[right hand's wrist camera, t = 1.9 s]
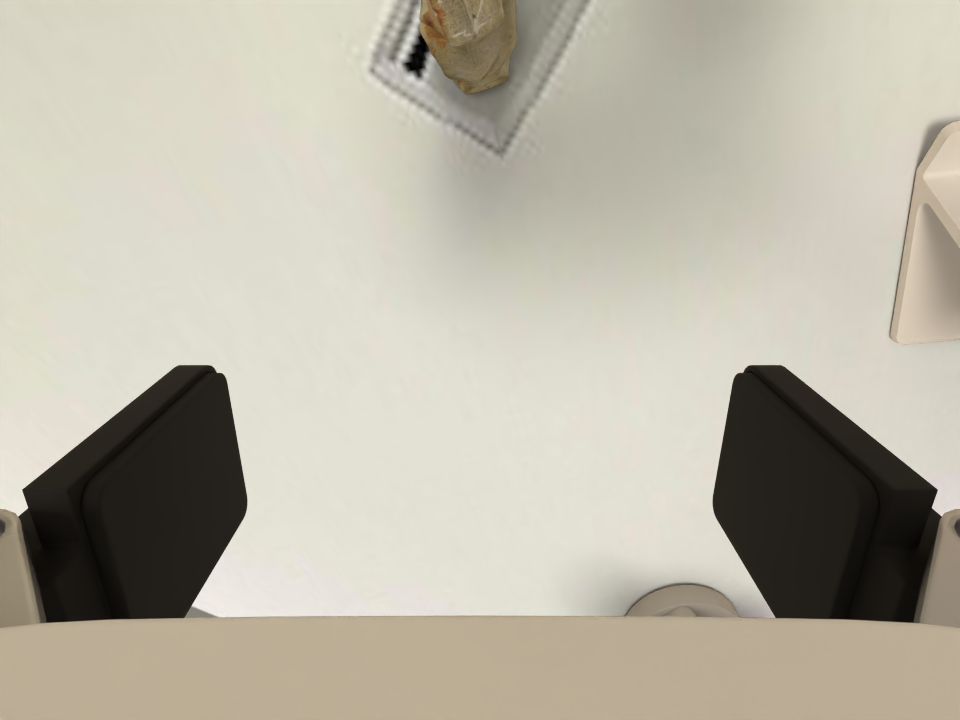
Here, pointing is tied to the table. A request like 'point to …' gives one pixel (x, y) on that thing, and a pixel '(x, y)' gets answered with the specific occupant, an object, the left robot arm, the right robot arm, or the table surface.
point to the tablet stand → (932, 249)
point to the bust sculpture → (684, 603)
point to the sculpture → (471, 39)
